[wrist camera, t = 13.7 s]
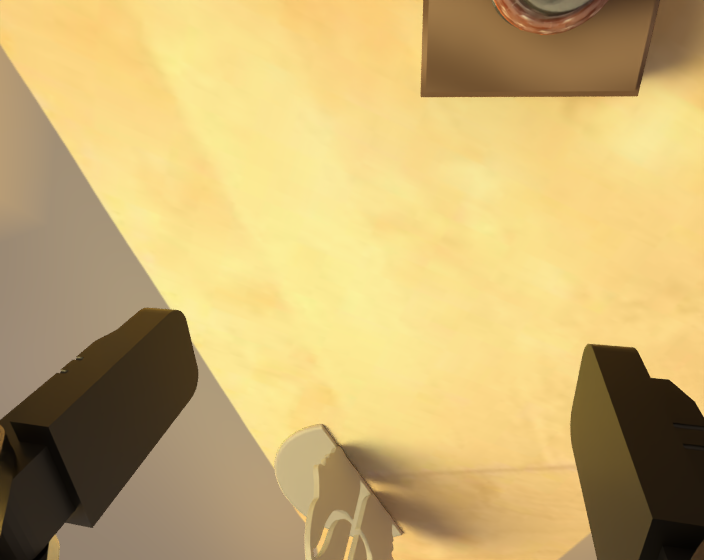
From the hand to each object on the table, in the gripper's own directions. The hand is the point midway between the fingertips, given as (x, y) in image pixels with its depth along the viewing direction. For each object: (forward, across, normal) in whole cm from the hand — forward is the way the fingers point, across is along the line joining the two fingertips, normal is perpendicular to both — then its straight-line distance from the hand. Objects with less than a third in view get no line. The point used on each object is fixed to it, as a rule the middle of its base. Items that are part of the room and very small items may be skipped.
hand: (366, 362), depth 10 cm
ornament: (+37, +15, +51) cm, 65 cm away
